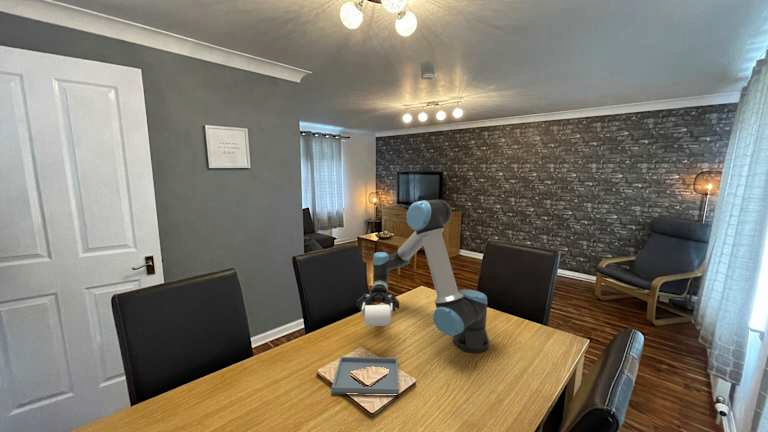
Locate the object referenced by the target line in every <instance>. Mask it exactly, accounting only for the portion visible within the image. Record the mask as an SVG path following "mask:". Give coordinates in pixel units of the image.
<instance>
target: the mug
mask: <svg viewBox="0 0 768 432" xmlns="http://www.w3.org/2000/svg"><path fill="white" fill-rule="evenodd" d="M391 319H392V318H391V314H390V306H389V305H387V304H374V305H373V304H369V305H365V311H364V327H383V326H384V327H386V326H387V327H388V326H391V321H392V320H391Z"/></svg>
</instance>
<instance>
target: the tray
mask: <svg viewBox="0 0 768 432" xmlns="http://www.w3.org/2000/svg"><path fill="white" fill-rule="evenodd" d="M372 366H374V367H381V368H382V367H384V368H386V369H389V373H388V375H387V376H386V377H385V378H383V379H382V380H380V381H379V382H378V383H376V384H375V385H373V386H372V387H363V386H362V385H361V384H359V383H358V382H357V381H355V380H354V379H353V378H352V377H351V376H350V372H351V371H354V370H358V369H362V368H363V369H366V367H372ZM335 370H336V371H335V375H334V377H333V381H332V384H331V395H339V396H340V395H343V396H346V395H345V393H358V394H397V395H398V396H399V394H400V393H399V392H400V391H399V389H400V388H399V360H398V357H376V356H375V357H372V356H341V355H340V357H339V360H338V365H337V368H336V369H335Z"/></svg>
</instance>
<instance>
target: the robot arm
mask: <svg viewBox="0 0 768 432" xmlns="http://www.w3.org/2000/svg"><path fill="white" fill-rule="evenodd" d="M406 211H407V213H406V222H407V225H408V226H409V228H411V229H412V230H413V231H414V232H413V233H412V234H411V235H409V237H408V238H407V240H405V242H403V244H402V245H401V246H400V247H399V248H397V250H396V252H394V253H391V254H388V253H387V252H383V251H377V252H375V253H374V254H373V255H372V256H373V259H372V286H371V287H372V288H371V291H370V293H369V294H367V293H366V292H364V293H363V295H362V296H360V297H359V298H358V299H357V300H356V308H359V311H361V316H364V317H365V315H364V311H365V305H372V304H374V303H383V305H389V306H390V314H391V317H393V312H396V309H400V301H399V300H398V299H397V298H396V296H395V293H391V294H390V295H389V294H388V290H389V289H388V288H389V287H388V286H389V271H391V270H395V269H398V268H403V267H405V266H407V265H409V264H410V262H411V258H412V257H413V256H414V255H415V254H416V253H418V251H420V249H421V248H422V247H423V250H424V254H425V257H426V260H427V264H428V268H429V271H430V275H431V279H432V282H433V287H434V289H435V293H436V298H435V300H434V303H435V307H436V309H434V311H433V314H432V318H433V319H432V320H433V322H434V323H433V324H434V325H435V326H436V328H437V329H438V331H439V332H441V333H442V334H444V335H446V336H448V337H452V344H453V345H454V346H455V347H456V348H458V349H460V350H462V351H464V352H467V353H472V354H480V353H484V352H487V350H488V349H489V347H490V339H489V336H488V332H487V327H486V326H487V313H488V297H487V295H486V294H485V293H483V292H480V291H479V290H473V289H460V290H459V289H458V285H457V283H456V279H455V275H454V271H453V268H452V264H451V261H450V257H449V254H448V250H447V247H446V243H445V240H444V237H443V232H444V230H445V227H446V226H447V225H448V224H450V221H451V219H452V217H453V210H452V206H451V205H450V204H449V203H448V202H447V201H445V200H443V199H430V200H427V199H426V200H425V199H424V200H419V201H415V202H413V203H412V204H410V206H409V207H408V210H406Z"/></svg>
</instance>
